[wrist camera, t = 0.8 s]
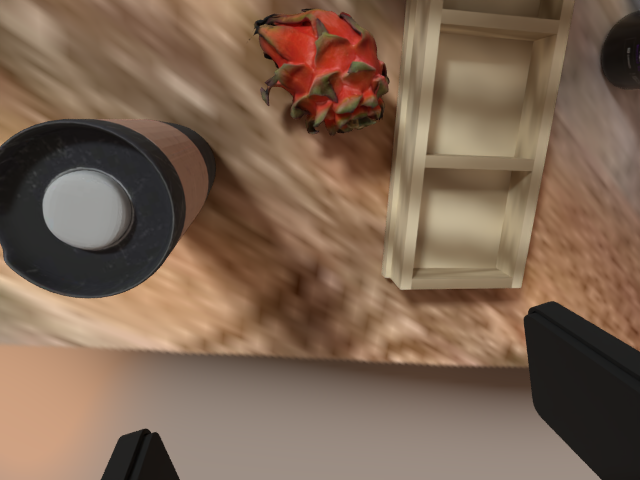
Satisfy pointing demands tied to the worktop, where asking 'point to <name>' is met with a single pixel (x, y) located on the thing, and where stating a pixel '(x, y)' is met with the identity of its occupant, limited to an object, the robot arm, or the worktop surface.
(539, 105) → the rack
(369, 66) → the dragon fruit
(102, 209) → the travel mug
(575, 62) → the worktop surface
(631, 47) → the supplement bottle
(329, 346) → the worktop surface
